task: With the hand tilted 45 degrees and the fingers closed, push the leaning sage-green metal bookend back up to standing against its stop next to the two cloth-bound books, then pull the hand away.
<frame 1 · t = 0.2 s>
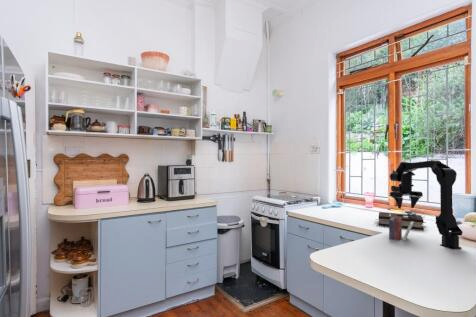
hand: (405, 208, 167), 15 cm above the worktop, tool pointing down, fingers open, 9 cm apart
book row: (405, 240, 152), on the worktop
decorative book: (399, 225, 188), on the worktop
bookend: (408, 231, 152), point 5 cm above the worktop, hinge at -20.0°
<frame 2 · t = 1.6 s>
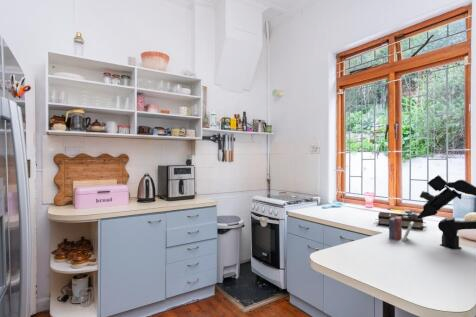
hand: (418, 216, 149), 14 cm above the worktop, tool tilted 45°, fingers open, 6 cm apart
nothing on the worktop moved.
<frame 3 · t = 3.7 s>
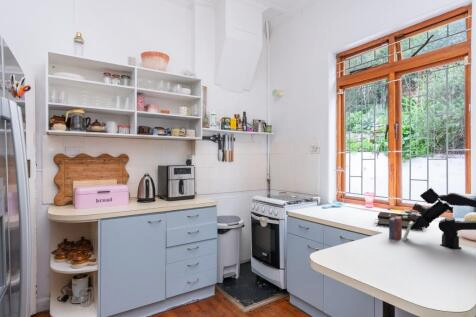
hand: (411, 228, 151), 7 cm above the worktop, tool tilted 45°, fingers closed, pressing on bookend
bookend: (407, 230, 152), point 5 cm above the worktop, hinge at -18.2°, touching gripper
everything else where it was.
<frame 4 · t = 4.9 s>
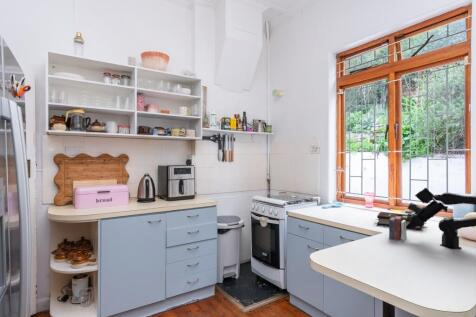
hand: (406, 227, 152), 7 cm above the worktop, tool tilted 45°, fingers closed
bookend: (403, 230, 153), point 5 cm above the worktop, hinge at 3.1°
everything else where it was.
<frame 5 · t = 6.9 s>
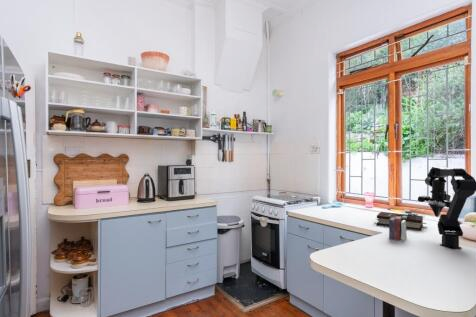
hand: (437, 216, 154), 13 cm above the worktop, tool pointing down, fingers closed
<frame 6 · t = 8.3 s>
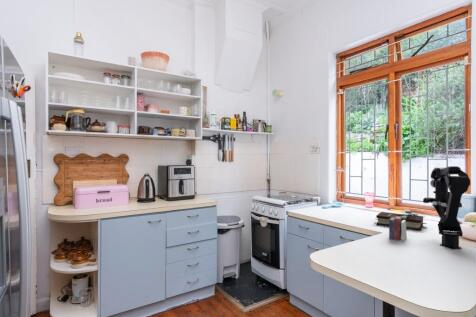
hand: (441, 217, 154), 12 cm above the worktop, tool pointing down, fingers closed
at the end: bookend at +3° (first picture: -20°); decorative book moved 1.1 cm from its start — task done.
